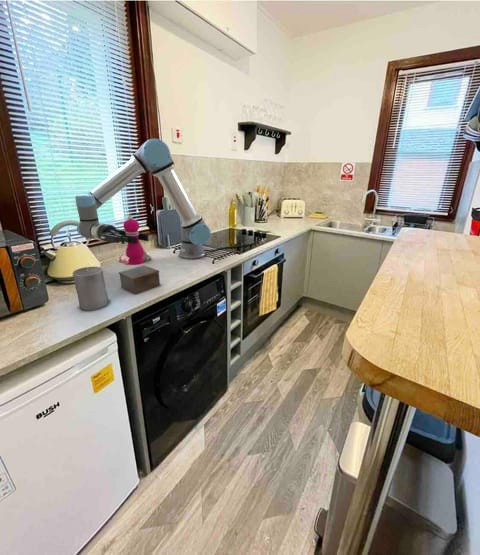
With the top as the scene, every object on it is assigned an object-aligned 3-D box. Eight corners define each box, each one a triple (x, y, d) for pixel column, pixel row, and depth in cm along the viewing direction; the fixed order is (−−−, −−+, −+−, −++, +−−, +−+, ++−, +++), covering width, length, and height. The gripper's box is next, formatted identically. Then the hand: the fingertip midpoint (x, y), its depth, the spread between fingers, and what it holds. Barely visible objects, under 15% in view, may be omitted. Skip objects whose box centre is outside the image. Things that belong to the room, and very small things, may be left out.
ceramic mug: (135, 263, 148) (134, 250, 145) (129, 260, 154) (127, 247, 151) (153, 260, 155) (152, 247, 152) (147, 257, 161) (146, 244, 158)
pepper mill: (123, 264, 114) (116, 216, 107) (135, 259, 121) (129, 213, 113) (137, 266, 112) (130, 217, 105) (149, 261, 118) (143, 214, 111)
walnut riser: (146, 279, 128) (144, 265, 125) (160, 285, 121) (159, 270, 119) (121, 287, 119) (118, 272, 116) (135, 294, 112) (133, 278, 110)
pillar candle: (87, 299, 108) (79, 263, 102) (112, 298, 108) (106, 262, 103) (75, 311, 99) (65, 272, 93) (102, 310, 99) (95, 271, 94)
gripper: (123, 237, 129) (159, 243, 119) (87, 245, 115) (124, 253, 104) (120, 221, 126) (157, 226, 116) (83, 227, 112) (121, 234, 101)
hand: (142, 239), depth 110 cm, fingers closed on pepper mill, 5 cm apart
